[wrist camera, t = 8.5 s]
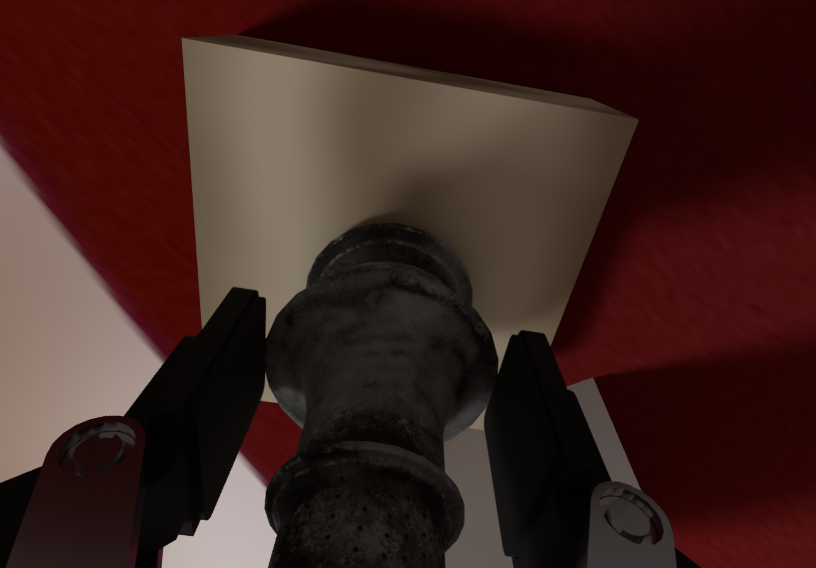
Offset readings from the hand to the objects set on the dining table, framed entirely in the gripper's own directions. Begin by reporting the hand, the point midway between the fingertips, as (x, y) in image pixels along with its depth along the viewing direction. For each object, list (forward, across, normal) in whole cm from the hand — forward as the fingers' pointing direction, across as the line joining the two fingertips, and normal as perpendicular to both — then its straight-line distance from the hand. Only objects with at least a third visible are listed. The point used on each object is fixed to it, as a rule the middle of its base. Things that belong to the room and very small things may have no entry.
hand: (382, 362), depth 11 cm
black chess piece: (+4, 0, 0) cm, 4 cm away
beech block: (+8, 0, 0) cm, 8 cm away
